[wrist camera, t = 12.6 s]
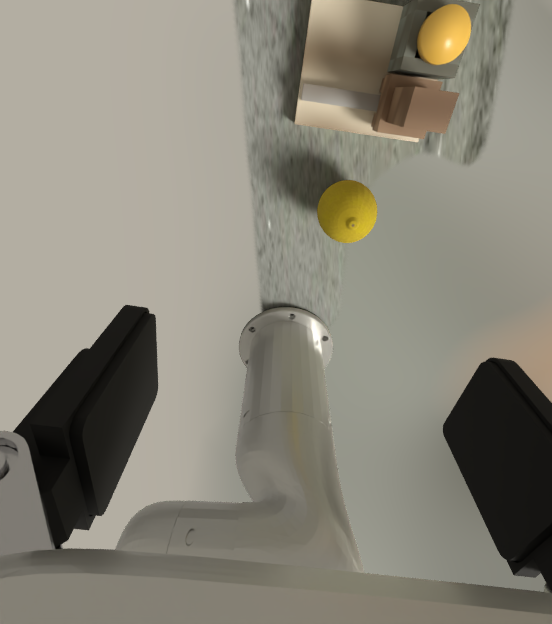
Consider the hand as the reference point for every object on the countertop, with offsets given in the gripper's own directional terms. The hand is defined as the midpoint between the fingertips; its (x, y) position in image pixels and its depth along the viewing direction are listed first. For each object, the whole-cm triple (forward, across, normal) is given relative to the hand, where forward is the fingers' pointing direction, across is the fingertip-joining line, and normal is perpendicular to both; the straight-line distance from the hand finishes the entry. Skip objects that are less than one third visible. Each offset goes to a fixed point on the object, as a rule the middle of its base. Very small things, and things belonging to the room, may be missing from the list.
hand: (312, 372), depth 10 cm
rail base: (+29, -5, -10) cm, 31 cm away
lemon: (+30, -5, +1) cm, 30 cm away
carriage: (+27, -8, -8) cm, 30 cm away
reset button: (+27, -8, -12) cm, 31 cm away
